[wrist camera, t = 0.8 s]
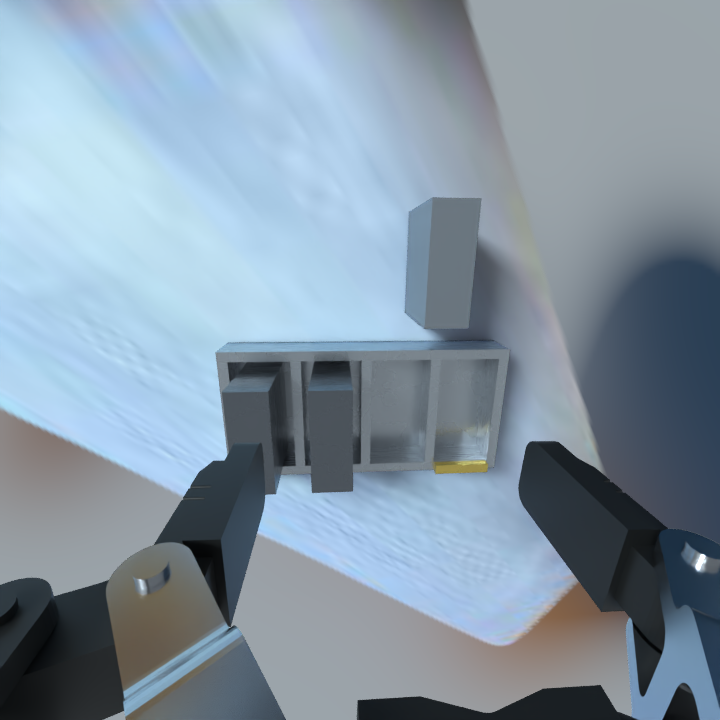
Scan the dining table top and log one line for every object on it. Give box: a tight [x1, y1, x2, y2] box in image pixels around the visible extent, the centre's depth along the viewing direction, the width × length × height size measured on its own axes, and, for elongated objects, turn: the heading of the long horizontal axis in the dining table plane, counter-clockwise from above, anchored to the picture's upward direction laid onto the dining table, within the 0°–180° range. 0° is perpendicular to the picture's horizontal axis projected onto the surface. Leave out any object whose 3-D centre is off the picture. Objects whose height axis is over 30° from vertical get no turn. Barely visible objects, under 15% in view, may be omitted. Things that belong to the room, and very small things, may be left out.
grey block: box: [405, 198, 481, 329], centre depth 25 cm, size 8×3×7 cm, turn 0°
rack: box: [216, 340, 510, 495], centre depth 28 cm, size 23×11×8 cm, turn 90°
